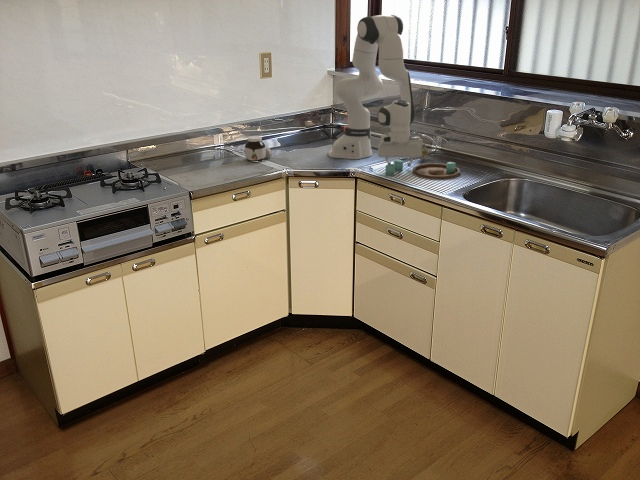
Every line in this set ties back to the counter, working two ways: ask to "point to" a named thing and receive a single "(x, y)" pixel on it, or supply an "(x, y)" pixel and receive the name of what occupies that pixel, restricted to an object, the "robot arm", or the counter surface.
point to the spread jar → (256, 149)
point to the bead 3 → (450, 167)
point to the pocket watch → (425, 154)
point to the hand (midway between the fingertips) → (399, 166)
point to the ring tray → (434, 171)
